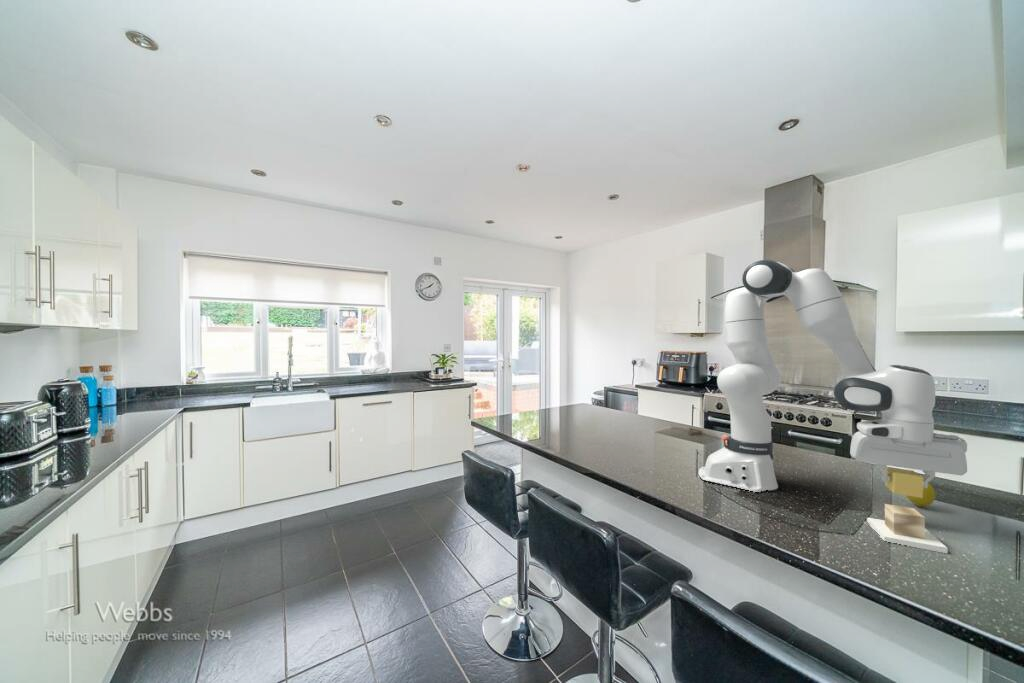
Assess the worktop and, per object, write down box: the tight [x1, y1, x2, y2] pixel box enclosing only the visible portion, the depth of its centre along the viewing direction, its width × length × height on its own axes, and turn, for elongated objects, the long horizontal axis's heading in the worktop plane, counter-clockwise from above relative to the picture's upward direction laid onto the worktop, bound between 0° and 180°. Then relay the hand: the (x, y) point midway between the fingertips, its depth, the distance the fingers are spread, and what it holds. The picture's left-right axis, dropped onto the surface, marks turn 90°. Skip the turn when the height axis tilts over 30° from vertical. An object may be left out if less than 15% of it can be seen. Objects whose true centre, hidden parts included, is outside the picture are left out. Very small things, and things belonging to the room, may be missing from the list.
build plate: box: [866, 517, 949, 554], centre depth 85 cm, size 10×10×1 cm
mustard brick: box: [884, 466, 924, 498], centre depth 91 cm, size 5×5×5 cm
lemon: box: [905, 482, 936, 508], centre depth 99 cm, size 6×6×8 cm
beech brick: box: [884, 503, 926, 539], centre depth 85 cm, size 5×5×5 cm
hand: (903, 484), depth 91 cm, fingers closed on mustard brick, 5 cm apart
